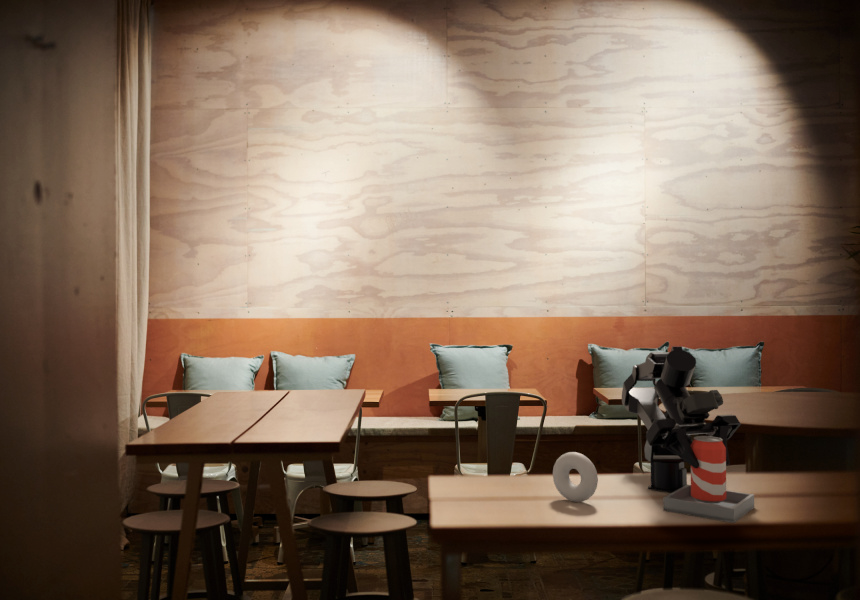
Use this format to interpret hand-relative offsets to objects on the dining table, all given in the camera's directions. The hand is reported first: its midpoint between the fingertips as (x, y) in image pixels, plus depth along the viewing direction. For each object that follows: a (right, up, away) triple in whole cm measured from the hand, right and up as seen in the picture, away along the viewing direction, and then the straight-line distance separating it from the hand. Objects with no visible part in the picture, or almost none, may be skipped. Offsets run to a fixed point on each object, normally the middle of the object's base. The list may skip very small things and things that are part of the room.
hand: (712, 466), depth 133 cm
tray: (0, -9, +1) cm, 9 cm away
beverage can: (0, -7, +1) cm, 7 cm away
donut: (-25, -9, +7) cm, 28 cm away
